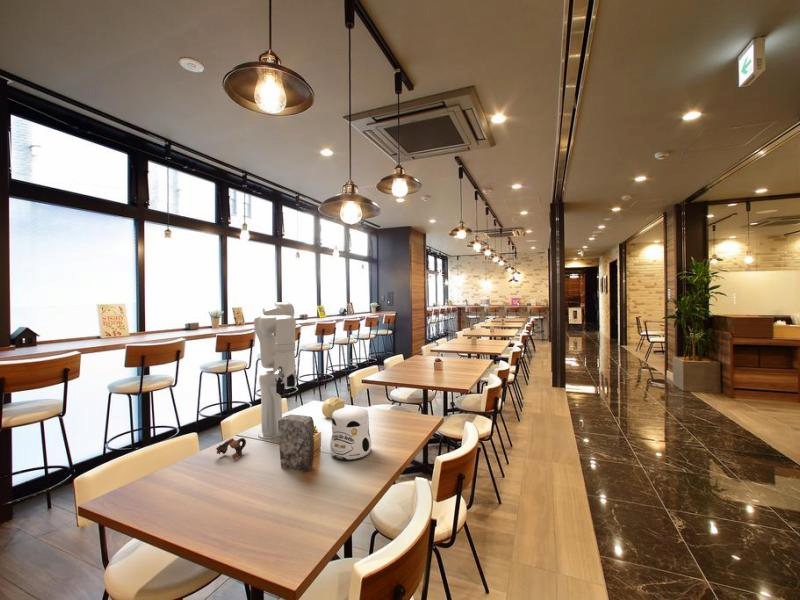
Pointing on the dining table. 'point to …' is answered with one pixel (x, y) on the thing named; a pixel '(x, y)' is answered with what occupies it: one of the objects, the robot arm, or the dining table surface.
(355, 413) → the milk container
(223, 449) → the brown animal figurine
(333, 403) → the sculpture
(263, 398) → the robot arm
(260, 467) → the dining table surface
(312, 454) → the stone block
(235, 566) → the dining table surface
